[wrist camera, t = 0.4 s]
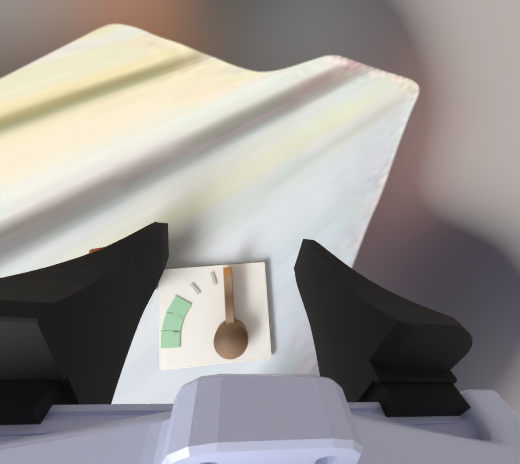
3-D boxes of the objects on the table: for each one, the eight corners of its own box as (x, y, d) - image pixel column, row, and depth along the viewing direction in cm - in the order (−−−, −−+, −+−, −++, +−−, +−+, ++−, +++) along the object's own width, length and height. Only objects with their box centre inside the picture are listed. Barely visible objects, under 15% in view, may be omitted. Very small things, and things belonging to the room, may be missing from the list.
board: (270, 355, 36) (271, 358, 34) (162, 367, 34) (159, 371, 33) (263, 261, 37) (264, 261, 36) (160, 269, 36) (157, 269, 35)
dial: (248, 350, 34) (249, 357, 32) (216, 354, 34) (214, 361, 32) (243, 266, 36) (243, 266, 34) (212, 268, 36) (210, 268, 33)
